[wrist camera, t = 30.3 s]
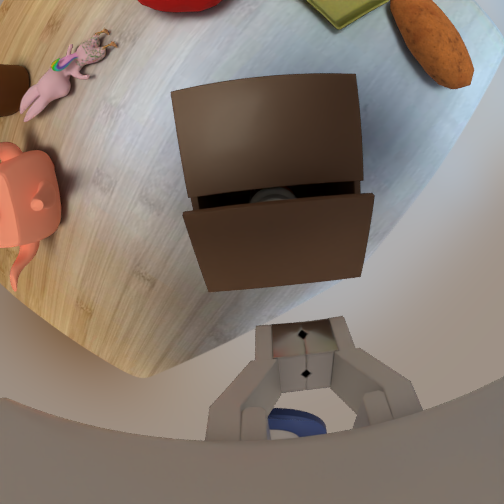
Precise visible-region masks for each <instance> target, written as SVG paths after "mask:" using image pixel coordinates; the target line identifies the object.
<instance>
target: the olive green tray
mask: <svg viewBox="0 0 504 504" xmlns="http://www.w3.org/2000/svg"><path fill="white" fill-rule="evenodd" d="M306 1H307V2H309V3H310V4H311V5H312V6H313V7H314V8H315V9H316V10H317V11H319V12H320V13H321V14H322V15H323V16H324V17H325V18H326V19H327V20H328V21H329V22H330V23H331V24H332V25H333V26H334V27H335V28H336V29H338V30H340V29H342V28H344V27H346V26H347V25H349V24H350V23H352V22H354V21H355V20H357V19H358V18H360V17H362V16H363V15H365V14H367V13H368V12H370V11H372V10H374V9H376V8H377V7H379V6H381V5H383V4H385V3H387V2H388V1H389V0H306Z"/></svg>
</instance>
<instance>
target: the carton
mask: <svg viewBox="0 0 504 504" xmlns="http://www.w3.org/2000/svg"><path fill="white" fill-rule="evenodd" d="M171 98H172V105H173V112H174V118H175V125H176V131H177V137H178V143H179V149H180V155H181V161H182V167H183V172H184V178H185V183H186V189H187V194H188V198H191V202H192V207H193V210H199V209H207V208H215V207H223V206H231V205H239V204H248V203H249V199H250V192H251V190H253V189H262V188H271V187H281V186H292V188H293V190H294V192H295V194H296V196H297V198H308V197H320V196H333V195H347V194H360V181H363V151H362V133H361V119H360V108H359V98H358V88H357V80H356V74H341V73H314V74H289V75H274V76H263V77H253V78H245V79H237V80H230V81H223V82H217V83H211V84H206V85H200V86H195V87H190V88H185V89H181V90H176V91H172V92H171Z"/></svg>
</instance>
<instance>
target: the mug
mask: <svg viewBox="0 0 504 504" xmlns="http://www.w3.org/2000/svg"><path fill="white" fill-rule="evenodd" d="M28 89H29V75H28V72H27V71H26V69H25V68H24V67H22V66H19V65H3V64H0V117H3V116H8V115H12V114H14V113H15V112H17V111H18V110H19V109H20V105H21V101H22V98H23V96H24V95H25V93H26V92H27V91H28Z"/></svg>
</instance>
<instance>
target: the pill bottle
mask: <svg viewBox="0 0 504 504" xmlns="http://www.w3.org/2000/svg"><path fill="white" fill-rule="evenodd" d="M286 199H297V196H296V194H295V192H294V190H293V188H292V186H281V187H271V188H262V189H253V190H251V192H250V199H249V203H257V202H266V201H276V200H286Z"/></svg>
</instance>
